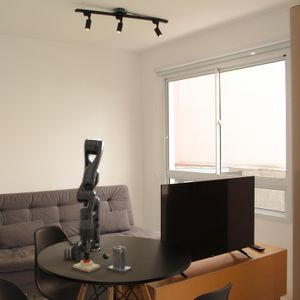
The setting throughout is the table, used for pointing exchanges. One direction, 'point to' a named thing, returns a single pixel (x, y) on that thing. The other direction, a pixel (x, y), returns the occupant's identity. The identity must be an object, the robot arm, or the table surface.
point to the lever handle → (105, 256)
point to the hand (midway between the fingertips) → (86, 259)
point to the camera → (73, 252)
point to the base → (119, 260)
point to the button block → (86, 266)
